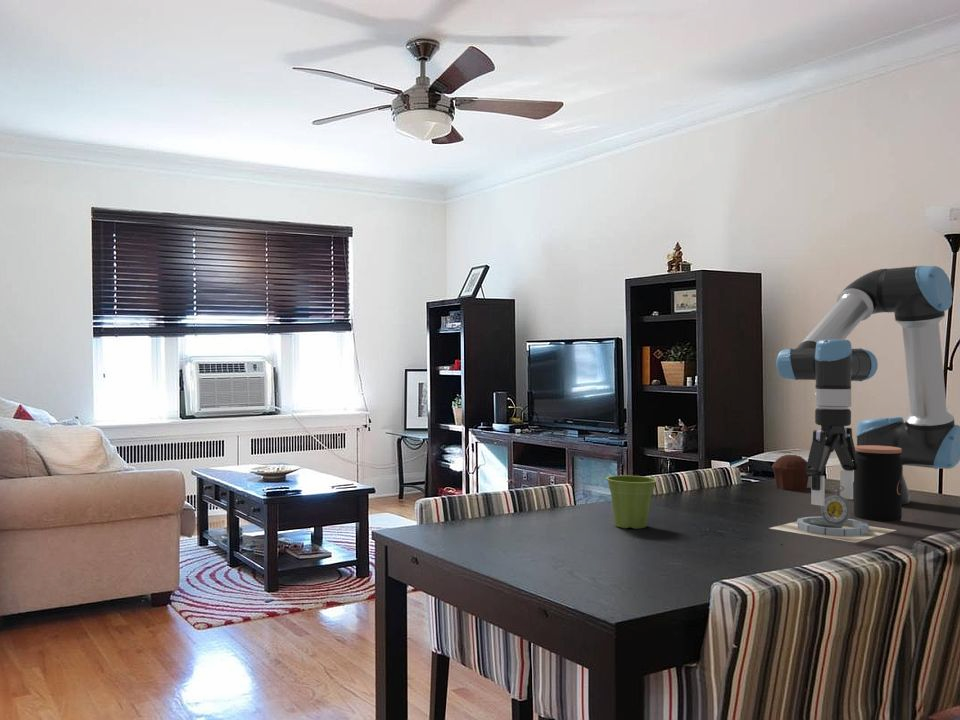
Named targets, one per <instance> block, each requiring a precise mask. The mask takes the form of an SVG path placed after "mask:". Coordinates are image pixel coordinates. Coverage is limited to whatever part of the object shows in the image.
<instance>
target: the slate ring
mask: <svg viewBox="0 0 960 720" xmlns="http://www.w3.org/2000/svg"><path fill="white" fill-rule="evenodd" d="M832 517H833V518H837V517H836V516H832ZM811 520H812V521H819V522H826V523H828V522H827V521H825V519H824V518H823V516H822V515H821V516H805V517H800V518H799V517H798V518H797V527H798V529H800V530H803V531H806V532H810V533H816V534H822V535H825V534H826V535H833V536H860V535H864V534H868V533H869V526H870V525H869V524H868V523H867V522H865V521H863V520H862V521H861V520H858V519H853V518H848V520H847V521H846V522H844V523H842V524H840V525H844V526H850V527H854V528H831V527H822V526H815V525H811V524H812V523H811Z"/></svg>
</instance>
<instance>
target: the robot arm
mask: <svg viewBox="0 0 960 720" xmlns="http://www.w3.org/2000/svg"><path fill="white" fill-rule="evenodd" d="M953 297H954V296H953V288H952V283H951V281H950V278H949V276H948V274H947V273H946V272H945V270H944V269H943V268H941V267H940V266H937V265H915V266H913V265H912V266H904V267H893V268H879V269H876V270H872V271H870V272H868V273H865V274H863V275H861V276H860V277H859V278H857V279H855V280H854V281H853V282H852V281H851V283H850V284H848V285H847V286H846V287H845V288H844V289H843V290H842V291H841V292H840V293H839V294H838V296H837V298H836V303H835V305H833V307H832V308H831V309H830V310H829V311H828V312H827V313H826V314H825V316H823V318H822V319H821V320H820V321H819V322H818V323H817V325H816V326H815V327H813V329H812V330H811V331H810V332H809V333H808V334H807V336H806V337H804V339H803V340H802V341H801V342H800V343H799V344H798V345H797V347H795V348H787V349H786V348H785V349H782V350H781V351H779V353H777V357H776V361H775V364H776V365H775V366H776V369H777V373H778V375H779V376H780V377H781V379H786V380H794V381H799V380H800V381H804V380H805V381H806V380H807V381H810V380H811V381H815V388H814V389H815V392H814V396H815V400H814V401H815V406H816V407H817V408H816V409H815V412H814V423H815V424H816V425H818V426H820V427H821V428H820V429H819V430H817V429H814V430H813V432H812V441H811V446H810V450H809V454H808V457H807V460H806V461H807V465H806V474H807V475H809V476H810V477H811V478H810V480H811V481H810V482H811V485H810V486H811V487H810V490H811V491H810V492H811V493H810V495H811V496H810V500H811V501H810V504H811V505H814V506H820V507H821V506H825V499H826V497H825V496H826V495H825V493H826V492H825V485H826V483H825V481H826V480H825V479H826V478H825V477H826V476H825V475H823V474H824V471H825V469H826V466H827V464H828V461H829V458H830V456H831V453H833V452H835V454H836V456H837V458H838V461H839V463H840V464H839V465H841V468H842V469H840V471H839V482H840V483H839V485H841V486H843V487H844V490H843V491H841V490H842V489H843V488H842V487H841V486H839V490H840V491H841V492H840V493H839V496H841V497H843V498H845V499H846V500H851V501H854V470H856V471H857V470H858V460H857V455H856V451H855V447H854V446H855V444H854V439H853V428H852V427H848V426H851V424H852V410H851V409H849V408H850V407H851V406H852V382H863V381H867V380H869V379H871V378H873V377H874V375H875V374H876V372H877V370H878V368H879V367H878V365H879V363H878V359H877V357H876V356H875V354H874V353H873V352H872V351H870V350H868V349H864V348H852V342H851V340H848V339H847V338H848V337H849V335H850V334H851V333H852V332H853V330H855V328H856V327H857V326H858V325H859V324H860V322H861V321H862V322H863V321H865V320H867V319H869V318H870V317H871V316H872V315H874V314H878V313H881V314H882V313H888V314H889V313H894V321H896V323H898V324H899V325H900V326H901V328H902V337H903V338H902V339H903V340H902V341H903V348H904V358H905V367H906V368H905V370H906V379H907V390H908V397H909V398H908V399H909V410H910V413H909V414H908V415H907V416H906V417H905V419H904V418H903V417H902V416H895V417H883V418H881V417H880V418H871V419H862V420H860V421H859V422H858V423H857V430H856V446H860V445H876V446H891V447H898V448H901V449H902V452H901V453H900V457H901V459H902V505H908V504H909V503H910V500H911V496H910V491H909V489H908V486H907V483H906V480H905V476H904V473H903V472H904V470H903V469H904V466H908V467H909V466H910V467H921V468H929V469H930V468H931V469H935V470H938V469H943V470H947V469H948V470H951V469H952V468H955V467H956V466H957V465H958V464H959V463H960V425H959V424H955V423H956V422H955V417H954V415H953V414H951V413H950V412H949V411H948V408H947V399H946V398H947V397H946V387H945V376H944V365H943V364H944V363H943V355H942V354H943V353H942V343H941V333H940V322H941V321H942V320H943V319H944V318H945V317H946V316H945V315H946V314H945V312H946V311H948V310H949V309H950V308H951V306H952V304H953V300H952V298H953Z"/></svg>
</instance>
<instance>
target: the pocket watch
mask: <svg viewBox="0 0 960 720" xmlns="http://www.w3.org/2000/svg"><path fill="white" fill-rule="evenodd" d="M838 486H839V487H840V486H841V485H840V484H836V485H833V487H832V490H833V491H834V492H835V494H832V495H829V496H827V497H825V506H820V512H821V513H820V514H821V517H822V516H823V518H824V519H825V521H827V522H828V523H826V522H819V521H812V520H811V523H812V524H814V525H816V526H822V527H831V528H842V527H843V525H840V524H842V523H844V522H846V521H847V520H848V519H850V515H851V505H850V503H849V501H848V499H845V498H843V497H841V496H840V495H839V494H840V492H841V491H843V490H844V487H843V486H841V487H842V488H843V489H842V490H841V491H840V488H836V487H838ZM835 488H836V489H835ZM832 515H833V516H832ZM833 517H837V518H833Z"/></svg>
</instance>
